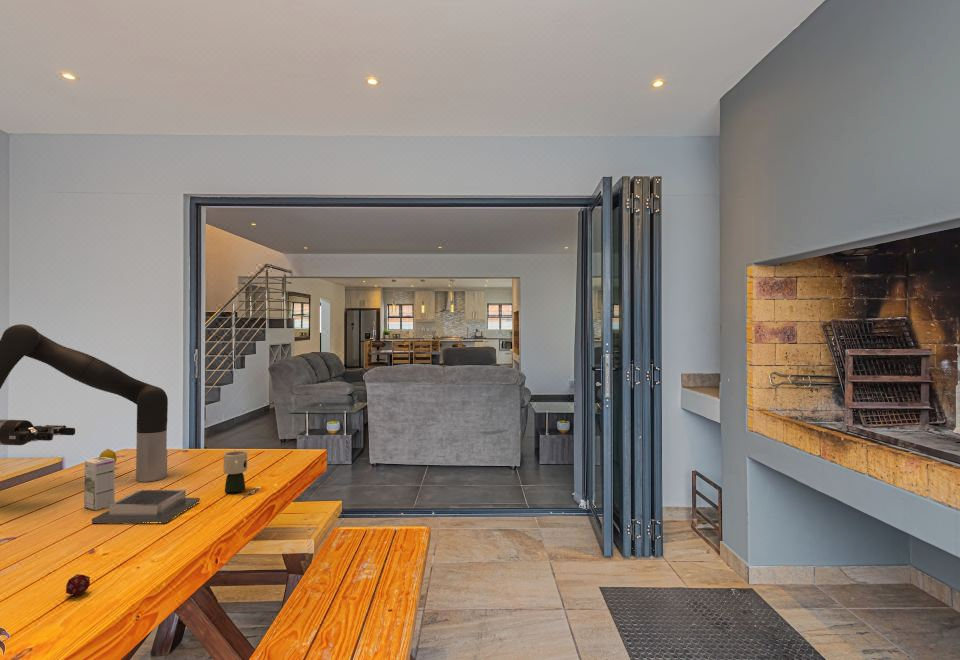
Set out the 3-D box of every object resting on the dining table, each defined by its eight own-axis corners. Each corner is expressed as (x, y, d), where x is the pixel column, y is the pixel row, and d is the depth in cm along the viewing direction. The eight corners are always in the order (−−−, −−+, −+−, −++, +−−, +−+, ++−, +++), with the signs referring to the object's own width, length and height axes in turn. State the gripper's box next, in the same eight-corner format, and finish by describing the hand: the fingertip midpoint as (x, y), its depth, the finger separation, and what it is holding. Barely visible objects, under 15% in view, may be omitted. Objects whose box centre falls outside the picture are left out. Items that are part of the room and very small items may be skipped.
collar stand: (134, 502, 157) (135, 488, 157) (199, 502, 158) (199, 488, 158) (91, 524, 139) (92, 507, 139) (165, 524, 140) (165, 507, 140)
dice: (72, 590, 104) (73, 570, 104) (95, 589, 104) (96, 570, 104) (59, 600, 100) (59, 579, 100) (83, 599, 100) (83, 579, 100)
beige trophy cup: (248, 494, 166) (248, 455, 166) (224, 498, 162) (224, 457, 163) (245, 485, 175) (245, 448, 176) (222, 488, 172) (223, 450, 172)
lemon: (106, 472, 191) (107, 450, 191) (94, 471, 192) (95, 450, 192) (119, 468, 196) (120, 447, 197) (108, 467, 198) (108, 447, 198)
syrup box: (115, 505, 155) (116, 458, 155) (93, 511, 149) (94, 462, 149) (104, 502, 157) (105, 456, 157) (82, 508, 152) (83, 460, 152)
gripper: (-13, 423, 145) (45, 425, 146) (29, 416, 160) (82, 418, 160) (-15, 449, 145) (43, 451, 146) (28, 440, 159) (80, 441, 160)
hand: (63, 434), depth 153 cm, fingers open, 8 cm apart
